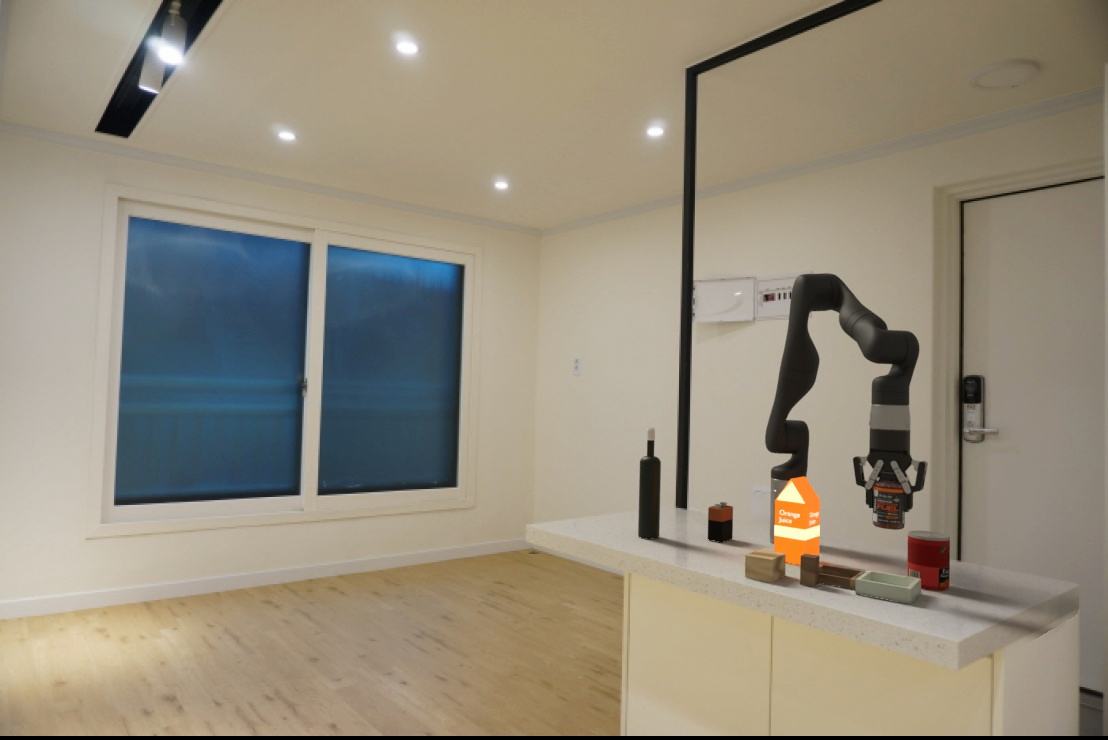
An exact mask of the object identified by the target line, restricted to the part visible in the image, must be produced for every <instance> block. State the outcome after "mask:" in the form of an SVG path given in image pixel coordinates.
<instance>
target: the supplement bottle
mask: <svg viewBox="0 0 1108 740" xmlns="http://www.w3.org/2000/svg"><path fill="white" fill-rule="evenodd" d="M900 477H901V476H900ZM904 493H905V491H904V489H903V487H902V485H901V483H900V482H899V480H898V478H897V476H896V474H895V473H891V472H880V475H879V479H878V480H877V481H876V482H875V483H874V490H873V508H872V524H873V526H874V527H876V528H879V529H880V528H881V529H883V530H884V529H886V530H892V531H893V530H895V531H896V530H903V529H904V528H905V524H906V521H905V520H906V517H905V516H906V512H904V511H903V506H904Z"/></svg>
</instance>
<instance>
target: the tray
mask: <svg viewBox="0 0 1108 740" xmlns="http://www.w3.org/2000/svg"><path fill="white" fill-rule="evenodd" d="M855 593H856V594H855ZM854 594H855V595H857V594H862V595H867V596H872V597H871V598H873V597H878V598H883V599H888V600H887V601H889V600H892V601H891V602H894V601H897V602H896V603H899V602H902V603H901V604H905V603H907V604H906V605H912V604H913V603H914V602H915V600H917V598H918V597H919V596H920V595H922V589H921V579H919V578H913V577H907V576H906V575H901V574H900V575H899V574H893V573H890V572H889V573H888V572H882V571H878V570H877V571H876V570H867V571H865V573H864V574H862V575H861V576H859V577H858V578H857V579H855V589H854ZM862 595H861V596H862ZM867 596H866V597H867ZM878 598H877V599H878ZM883 599H882V600H883Z"/></svg>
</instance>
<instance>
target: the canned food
mask: <svg viewBox="0 0 1108 740" xmlns="http://www.w3.org/2000/svg"><path fill="white" fill-rule="evenodd" d="M950 540H951V538H950V535H948V534H945V533H942V532H936V531H928V530H909V531H908V532H907V567H906V568H907V569H906V570H907V577H913V578H919V579H921V590H929V591H939V592H941V591H947V590H948V589H949V587H950V577H951V576H950V575H951V574H950V570H951V569H950V567H951V566H950V565H951V564H950V563H951V561H950V559H951V541H950Z"/></svg>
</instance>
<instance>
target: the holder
mask: <svg viewBox="0 0 1108 740" xmlns="http://www.w3.org/2000/svg"><path fill="white" fill-rule="evenodd" d="M865 572H866V571H864V570H859V569H855V568H854V569H852V568H848V567H840V566H836V565H829V564H823V563H819V584H820V583H824V584H823V585H826V584H829V585H828V586H831V585H835V586H834V587H837V586H840V587H839V588H842V587H845V588H844V589H847V588H851V589H850V590H853V589H854V588H855V579H857V578H858V577H859V576H861V575H862V574H864V573H865ZM854 590H855V589H854Z"/></svg>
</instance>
